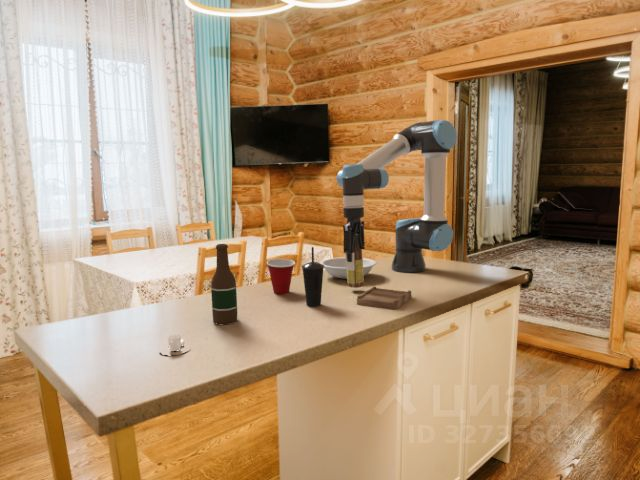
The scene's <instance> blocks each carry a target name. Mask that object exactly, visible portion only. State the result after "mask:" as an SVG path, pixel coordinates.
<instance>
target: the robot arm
mask: <svg viewBox="0 0 640 480" xmlns="http://www.w3.org/2000/svg"><path fill="white" fill-rule="evenodd" d="M457 137H458V136H457V130H456V128H455V126H454V124H452V123H451V122H450V121H449V120H445V119H441V120H440V119H437V120H430V121H420V122H416V123H413V124H411V125H409V126H408V127H406V128H404V129H402V130H401V131H399V132H398V133H396V134H395V135H394V136H393V137H392V139H391V140H390V141H387V143H385V144H384V145H382V146H381V147H380V148H378V149H377V150H375V151H374V152H372V153H371V154H369V155H367V156H366V157H365V158H363V159H362V160H360V161H359V162H358V163H356V164H344V165H343V166H342V169H340V170H339V171H338V173H337V175H336V182H337V183H336V184H337V185H338V186H339V187H340V188H342V200H343V201H342V202H343V210H342V211H343V213H342V214H343V217H344V219H347V220H346V224H343V225H342V227H343V253H344V254H346V253H347V270H352V271H354V270H355V263H354V253H353V248H354V239H355V235H356V234H358V244H359V247H360V249H361V251H362V252H363V250H365V245H366V243H365V221H364V220H361V218H364V217H365V207H364V205H365V199H364V198H365V197H364V191H365V190H376V189H377V190H379V189H383V188H386V187H387V185H388V184H389V181H390V180H389V179H390V177H389V173H388V171H387V170H386V169H384V168H385V167H387V166H388V165H389V164H391V163H392V162H394V161H395V160H397V159H398V158H399V157H401V156H405V155H408V154H409V153H411V152H417V151H421V152H420V153H421V154H420V155H421V156H423V158H424V179H423V180H424V181H423V182H424V183H423V213H422V214H423V215H421V217H416V218H407V219H399V220H397V221H396V223H395V253H394V256H393V260H392V262H391V270H392V271H395V272H400V273H420V272H424V271H426V267H427V266H426V265H427V264H426V263H425V257H424V255H423V252H422V251H423V250H429V251H431V252H442V251H443V252H444V251H445V250H446V249H448V248H449V247H450V245H451V243H452V242H453V238H454V229H453V228H452V226H451V225H450V224H448V222H449V221H448V218H447V217H446V216H445V201H446V200H445V199H446V196H445V195H446V172H447V171H446V169H447V168H446V165H447V157H448V156H449V155H450V154H451V149H453V148H454V147H455V145H456V143H457V140H458V139H457Z"/></svg>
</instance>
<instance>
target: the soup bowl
mask: <svg viewBox="0 0 640 480" xmlns="http://www.w3.org/2000/svg"><path fill="white" fill-rule="evenodd" d="M362 258H363V275H364V276H366V275H367V274H369V273H370V272H371V270H372V269H373V267H374V266H376V265H377V261H376V260H373V259H371V258H366V257H362ZM319 263H320V264H323V265H324V268H323V269H324V270H325V271H326V272H327V274H329V275H330V276H332V277H334V278H337V279H344V280H345V279H346V280H347V267H346V256H342V257H341V256H340V257H332V258H327V259H323V260H320V261H319Z"/></svg>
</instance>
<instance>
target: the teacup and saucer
mask: <svg viewBox="0 0 640 480" xmlns="http://www.w3.org/2000/svg"><path fill="white" fill-rule="evenodd" d="M167 341H168V346H169V348H168V349H169V351H170V352H171V351H177V350H179V349H180V350H181V348H182V347H181V346H182V345H185V340H184V338H181V335H180V334H173V335H170V336H168V337H167ZM180 350H179V351H180Z"/></svg>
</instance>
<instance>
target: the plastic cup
mask: <svg viewBox="0 0 640 480" xmlns="http://www.w3.org/2000/svg"><path fill="white" fill-rule="evenodd" d="M266 265H267V268H268V271H269V276H270V282H271V286H272V291H273V293H274V294H276V295H286V294H289V292H290V289H291V282H292V277H293V276H292V275H293V270H294V266H295V265H296V261H294V260H292V259H287V258H273V259H269V260H267V261H266Z"/></svg>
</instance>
